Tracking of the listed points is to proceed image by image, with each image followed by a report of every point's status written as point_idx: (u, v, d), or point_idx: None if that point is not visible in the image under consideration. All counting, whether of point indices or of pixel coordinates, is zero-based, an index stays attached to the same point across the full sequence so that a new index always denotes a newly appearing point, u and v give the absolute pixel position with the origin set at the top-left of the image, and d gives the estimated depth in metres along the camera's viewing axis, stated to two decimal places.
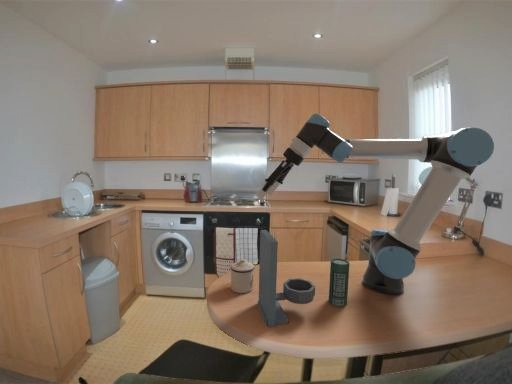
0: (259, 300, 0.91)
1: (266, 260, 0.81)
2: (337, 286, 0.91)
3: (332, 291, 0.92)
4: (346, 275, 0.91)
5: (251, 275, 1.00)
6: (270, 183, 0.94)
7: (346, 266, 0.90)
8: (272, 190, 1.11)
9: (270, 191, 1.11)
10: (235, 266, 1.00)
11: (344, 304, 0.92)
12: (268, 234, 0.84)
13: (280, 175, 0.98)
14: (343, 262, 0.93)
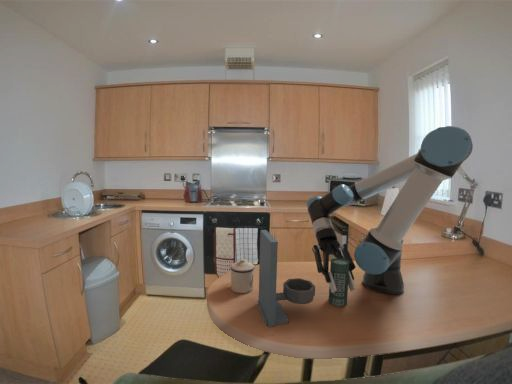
0: (259, 300, 0.91)
1: (266, 260, 0.81)
2: (337, 286, 0.91)
3: None
4: (346, 275, 0.91)
5: (251, 275, 1.00)
6: (320, 270, 0.93)
7: (346, 266, 0.90)
8: (350, 282, 0.92)
9: (350, 285, 0.92)
10: (235, 266, 1.00)
11: (344, 304, 0.92)
12: (268, 234, 0.84)
13: (325, 257, 0.96)
14: (343, 262, 0.93)
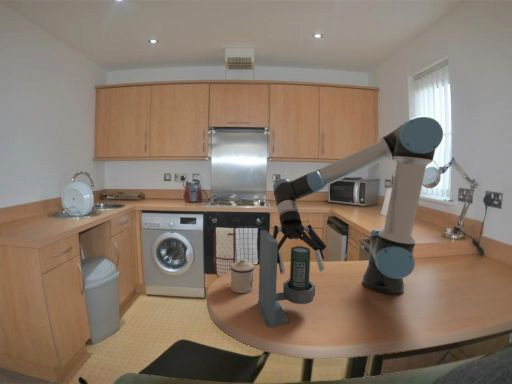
0: (259, 300, 0.91)
1: (266, 260, 0.81)
2: (297, 276, 0.84)
3: (292, 281, 0.86)
4: (306, 264, 0.84)
5: (251, 275, 1.00)
6: None
7: (306, 254, 0.84)
8: (319, 262, 0.87)
9: (320, 265, 0.86)
10: (235, 266, 1.00)
11: None
12: (268, 234, 0.84)
13: None
14: (304, 250, 0.86)
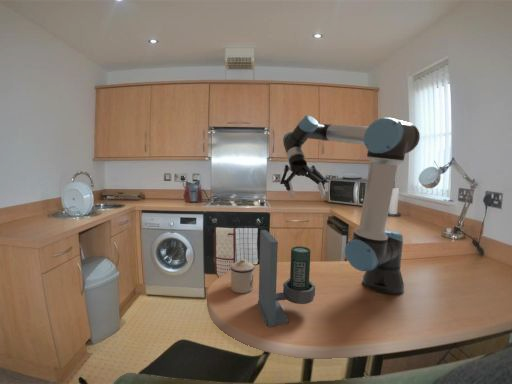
0: (259, 300, 0.91)
1: (266, 260, 0.81)
2: (297, 275, 0.84)
3: (292, 281, 0.86)
4: (306, 264, 0.84)
5: (251, 275, 1.00)
6: (281, 180, 1.10)
7: (306, 254, 0.84)
8: (321, 190, 1.10)
9: (321, 192, 1.10)
10: (235, 266, 1.00)
11: None
12: (268, 234, 0.84)
13: (291, 173, 1.13)
14: (304, 250, 0.86)
